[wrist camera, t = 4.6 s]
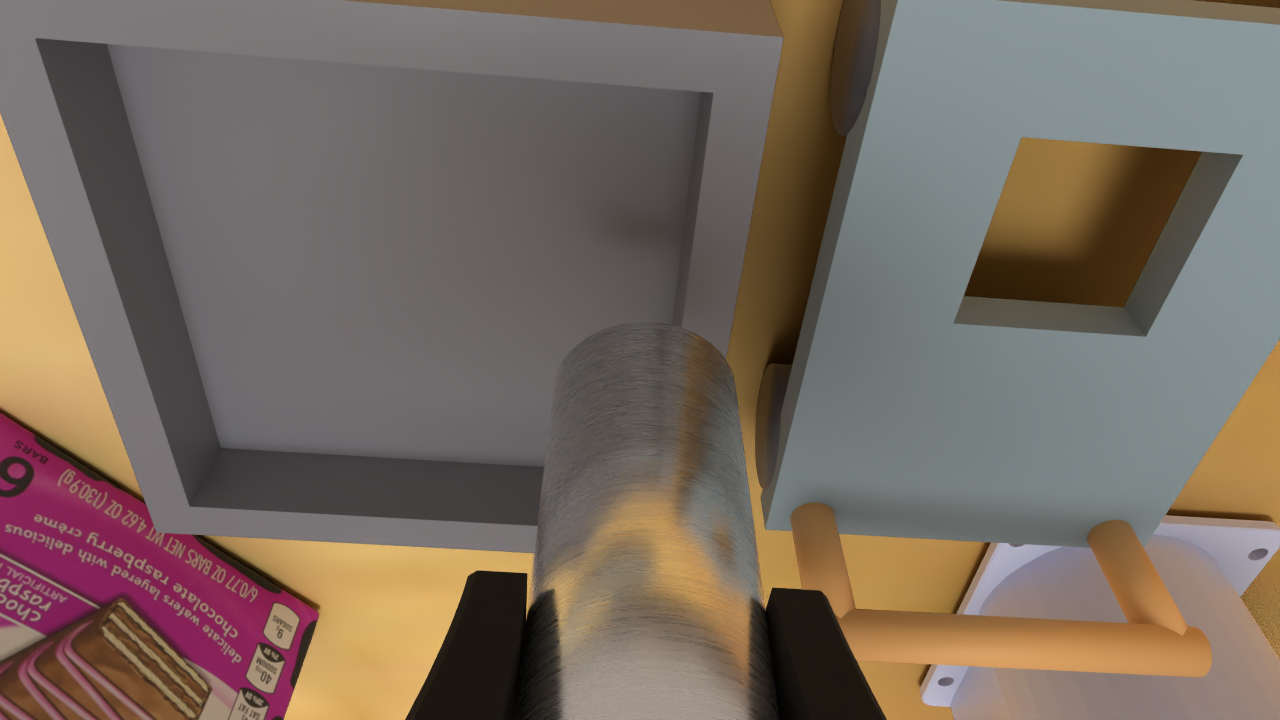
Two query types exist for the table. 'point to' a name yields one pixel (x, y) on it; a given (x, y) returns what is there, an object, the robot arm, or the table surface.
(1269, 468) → the table surface
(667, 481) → the pin
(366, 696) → the table surface
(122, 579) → the candy bar box
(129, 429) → the tray
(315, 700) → the table surface
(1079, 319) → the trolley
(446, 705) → the robot arm
